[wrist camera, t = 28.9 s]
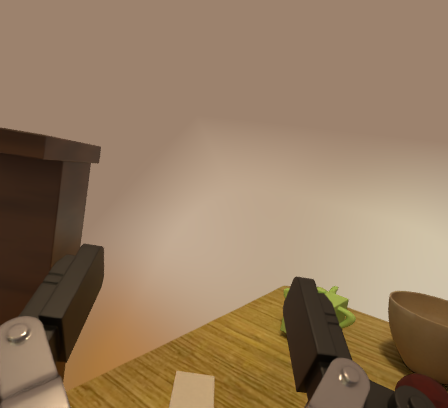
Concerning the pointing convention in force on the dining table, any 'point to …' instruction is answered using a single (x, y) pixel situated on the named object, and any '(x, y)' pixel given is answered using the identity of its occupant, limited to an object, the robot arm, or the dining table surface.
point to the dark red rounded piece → (427, 388)
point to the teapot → (338, 304)
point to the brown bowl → (421, 332)
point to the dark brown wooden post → (38, 211)
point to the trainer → (192, 391)
